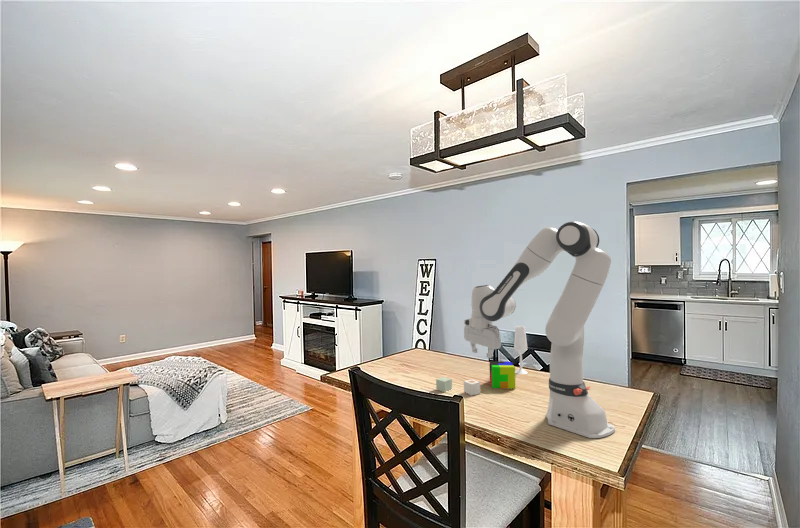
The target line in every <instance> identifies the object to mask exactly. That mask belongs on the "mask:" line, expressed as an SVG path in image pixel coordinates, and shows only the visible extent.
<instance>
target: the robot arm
mask: <svg viewBox="0 0 800 528" xmlns="http://www.w3.org/2000/svg"><path fill="white" fill-rule="evenodd" d="M599 244H600V236H599V234H598V232H597V231H596V230H595V229H593V228H592V227H591V226H590V225H589V224H586V223H583V222H580V221H574V220H572V221H568V222H565V223H563V224H562V225H560V227H558V228H555V227H551V226H549V227H547V226H546V227H544V228H542V229H541V230H540V231H538V233H537V234H536V235H535V236H534V237H533V238H532V239H531V240H530V242H528V245H526V247H525V249H524V250H523V251H522V253H521V254H520V256H519V258H518V259H517V261H516V262H515V263H514V264H513V266H512V268H510V271H509V272H508V273H507V274H506V276H505V277H504V278H503V279H502V281H501V282H500V283H499V284H498V285H497V287H496V288H494V287H493V286H491V285H490V284H484V285H477V286H475V287H473V289H472V292H471V304H470V305H471V308H472V309H471V310H472V313H471V314H470V315H471V317H469V318H467V319H464V320H463V323H464V327H463V329H464V330H463V336H464V340H465V341H466V342H469V343H470V347H471V349H472V350H471V351H472V353H474V354H477V353H479V351H478V348H477V345H480V346H482V347H483V346H484V347H486V348H487V350H488V352H486V358H488V359H491V358H493V354H494V352H495V350H497V349H498V350H499V349H501V347H502V337H501V333H500V329H499V328H498V326H497V325H493V324H494V323H493V322H497V321H499V320H501V319H502V318H506V317H508V316H510V315H512V314H513V313H514V312H515V310H516V307H517V306H516V301H515V299H514V297H513V295H514V294H515V293H516V292H517V290H518V289H519V288H520V287H521V286H522V285H523V284H524V283H526V282H527V281H529V280H531V279H534V278H536V277H538V276H540V275H541V274H542V273H544V272H545V271H546V270H547V269H548V268H549V267H550V265H551V264H552V263H553V262H554V261H555V259H556V258H557V257H558V255H559V254H561V252H566V253H568V254H569V255H570V256H571V257H573V258H575V263H574V266H573V268H572V271H571V273H570V275H569V277H568V279H567V282H566V284H565V286H564V289H563V291H562V293H561V295H560V297H559V299H558V301H557V303H556V304H555V306H554V308H553V310H552V312H551V314H550V316H549V318H548V320H547V322H546V324H545V336H546V338H547V340H549V341H550V342H551V345H550V347H551V348H550V355H549V377H548V378H549V379H548V389H549V397H548V399H549V400H548V406H547V411H546V414H545V418H546V419H547V424H548V425H550V426H553V427H557V428H559V429H562V430H565V431H568V432H571V433H573V434H577V435H580V436H582V437H586V438H588V439H599V438H600V439H601V438H604V437H608V436H611V435H612V434H614V432H615V431H616V427H615V425H613V424H611V423H609V422H608V419H607V414H606V411H605V410H604V409H603V407H602V406H600V405H599V404H598V402H596V400H595V399H594V398H592V396H590V394H589V392H588V391H589V390H591V386H586V383H585V381H584V366H583V365H584V362H583V361H584V348H585V347H584V344H585V343H584V341H585V325H586V322H587V320H588V319H589V317H590V314H591V312H592V310H593V309H594V307H595V305H596V303H597V301H598V297H599V296H600V293H601V291H602V290H603V287H604V285H605V284H606V280H607V278H608V274H609V272H610V267H611V264H612V258H611V256H610V255H609V254H608V253H607V252H606V251H604V250H602V249H600V248H598V247H599V246H600V245H599Z"/></svg>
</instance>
